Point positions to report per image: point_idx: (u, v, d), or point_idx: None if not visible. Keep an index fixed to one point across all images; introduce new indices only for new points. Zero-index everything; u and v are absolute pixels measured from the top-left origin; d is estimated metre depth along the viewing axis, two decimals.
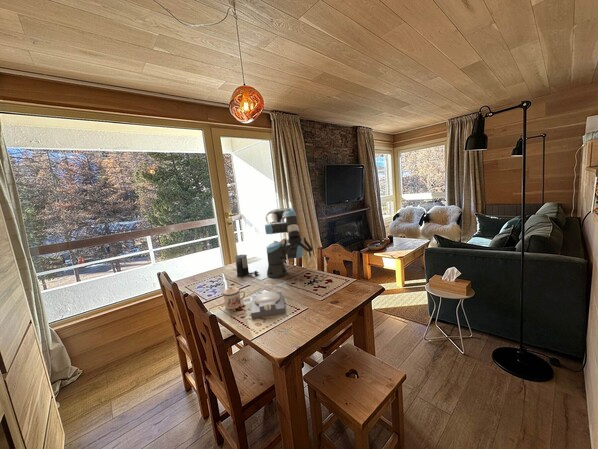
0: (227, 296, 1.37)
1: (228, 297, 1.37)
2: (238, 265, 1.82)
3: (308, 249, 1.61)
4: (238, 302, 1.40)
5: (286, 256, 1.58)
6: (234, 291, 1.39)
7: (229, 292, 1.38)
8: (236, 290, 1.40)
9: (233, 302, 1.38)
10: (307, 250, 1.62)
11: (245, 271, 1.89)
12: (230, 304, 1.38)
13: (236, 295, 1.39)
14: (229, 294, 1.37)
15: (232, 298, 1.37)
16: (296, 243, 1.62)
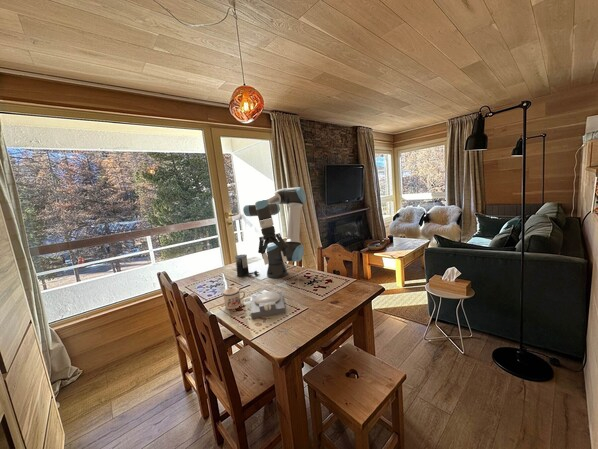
0: (227, 296, 1.37)
1: (228, 297, 1.37)
2: (238, 265, 1.82)
3: (281, 248, 1.39)
4: (238, 302, 1.40)
5: (263, 256, 1.47)
6: (234, 291, 1.39)
7: (229, 292, 1.38)
8: (236, 290, 1.40)
9: (233, 302, 1.38)
10: None
11: (245, 271, 1.89)
12: (230, 304, 1.38)
13: (236, 295, 1.39)
14: (229, 294, 1.37)
15: (232, 298, 1.37)
16: (270, 241, 1.43)
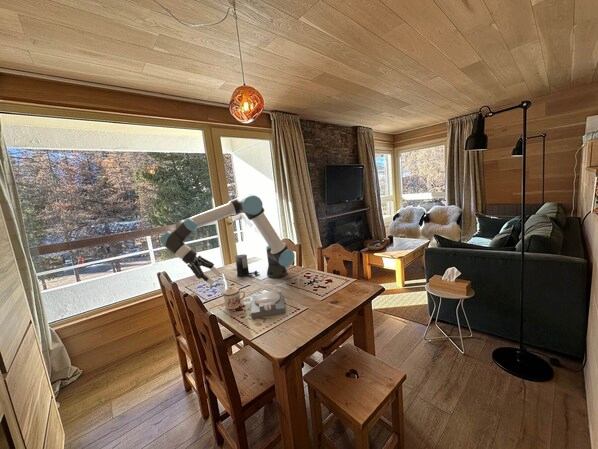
0: (227, 296, 1.37)
1: (228, 297, 1.37)
2: (238, 265, 1.82)
3: None
4: (238, 302, 1.40)
5: (212, 270, 1.47)
6: (234, 291, 1.39)
7: (229, 292, 1.38)
8: (236, 290, 1.40)
9: (233, 302, 1.38)
10: None
11: (245, 271, 1.89)
12: (230, 304, 1.38)
13: (236, 295, 1.39)
14: (229, 294, 1.37)
15: (232, 298, 1.37)
16: None
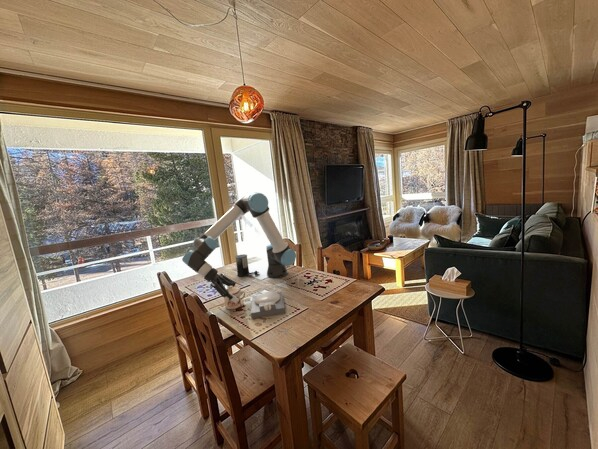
0: None
1: None
2: (238, 265, 1.83)
3: None
4: (238, 302, 1.40)
5: None
6: (234, 291, 1.39)
7: None
8: (236, 290, 1.40)
9: None
10: None
11: (245, 271, 1.89)
12: (230, 304, 1.38)
13: (236, 295, 1.39)
14: None
15: None
16: None
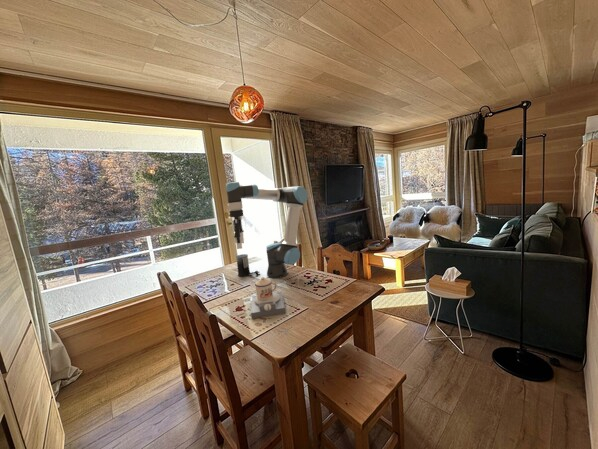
0: (260, 287, 1.34)
1: (261, 288, 1.34)
2: (239, 265, 1.83)
3: None
4: (270, 293, 1.37)
5: None
6: (267, 282, 1.36)
7: (262, 283, 1.35)
8: (268, 281, 1.37)
9: (266, 293, 1.35)
10: (239, 234, 1.40)
11: (246, 271, 1.90)
12: (263, 295, 1.35)
13: (269, 286, 1.36)
14: (262, 285, 1.34)
15: (265, 289, 1.34)
16: None
